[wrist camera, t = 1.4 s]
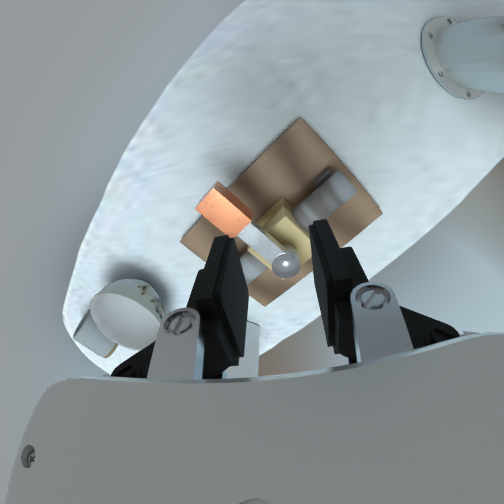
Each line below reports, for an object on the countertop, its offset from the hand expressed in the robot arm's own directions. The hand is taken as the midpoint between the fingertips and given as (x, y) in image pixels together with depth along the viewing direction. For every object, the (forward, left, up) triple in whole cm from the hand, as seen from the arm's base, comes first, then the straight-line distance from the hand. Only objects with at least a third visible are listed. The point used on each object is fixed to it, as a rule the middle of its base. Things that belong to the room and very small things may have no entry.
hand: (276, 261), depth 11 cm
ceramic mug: (+43, -2, -24) cm, 49 cm away
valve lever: (+5, +3, -15) cm, 16 cm away
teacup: (+30, +1, -23) cm, 38 cm away
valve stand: (+5, +7, -23) cm, 25 cm away
